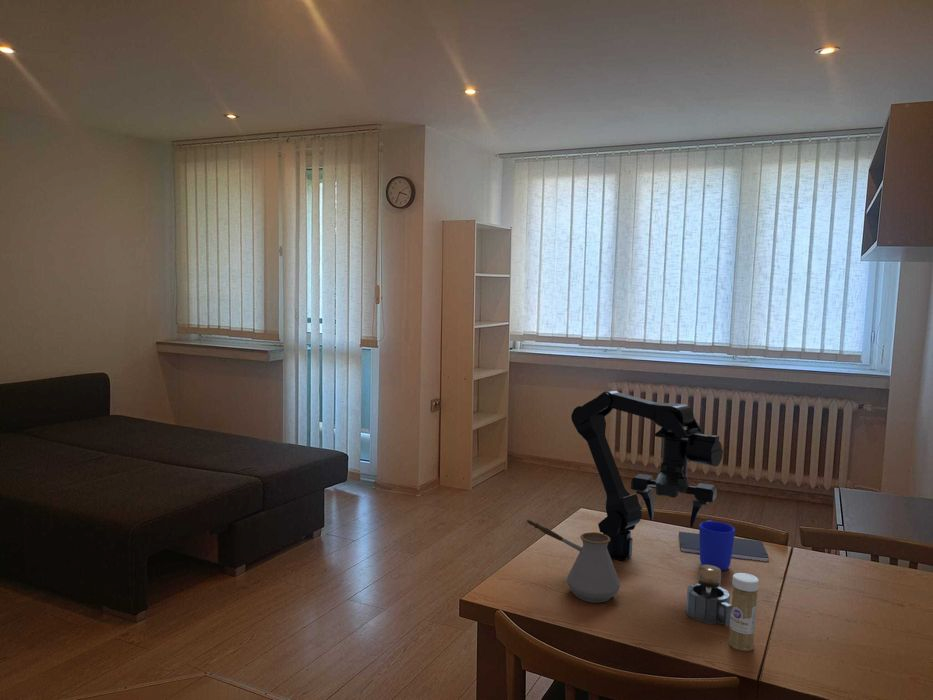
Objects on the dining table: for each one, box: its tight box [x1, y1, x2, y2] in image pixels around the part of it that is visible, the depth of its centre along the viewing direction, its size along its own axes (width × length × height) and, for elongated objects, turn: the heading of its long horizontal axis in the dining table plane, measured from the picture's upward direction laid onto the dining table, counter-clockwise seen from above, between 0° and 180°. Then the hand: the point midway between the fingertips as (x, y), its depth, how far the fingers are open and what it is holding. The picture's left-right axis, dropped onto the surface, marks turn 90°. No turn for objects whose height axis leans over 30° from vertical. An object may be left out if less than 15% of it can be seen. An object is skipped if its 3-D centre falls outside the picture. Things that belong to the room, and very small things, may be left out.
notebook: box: [678, 531, 770, 562], centre depth 182 cm, size 13×2×21 cm
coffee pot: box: [523, 519, 621, 603], centre depth 151 cm, size 21×12×15 cm, turn 75°
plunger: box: [697, 564, 722, 597], centre depth 142 cm, size 4×4×8 cm
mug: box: [698, 519, 736, 571], centre depth 170 cm, size 8×12×10 cm
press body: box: [685, 582, 732, 627], centre depth 142 cm, size 10×8×5 cm
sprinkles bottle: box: [728, 572, 760, 652], centre depth 130 cm, size 5×5×14 cm
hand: (671, 523), depth 163 cm, fingers open, 9 cm apart
